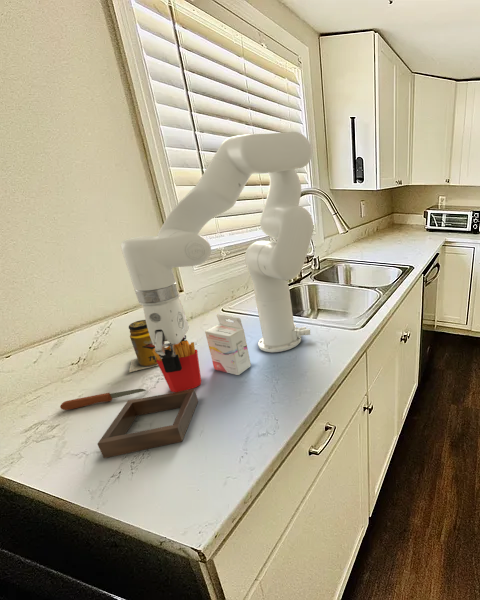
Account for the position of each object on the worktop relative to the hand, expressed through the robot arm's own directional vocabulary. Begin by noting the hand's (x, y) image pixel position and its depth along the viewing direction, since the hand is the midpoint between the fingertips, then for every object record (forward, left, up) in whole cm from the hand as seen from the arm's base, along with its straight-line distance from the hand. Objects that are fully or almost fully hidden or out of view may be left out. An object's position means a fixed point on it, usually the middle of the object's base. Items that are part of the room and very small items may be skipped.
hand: (178, 362), depth 78 cm
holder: (+2, +14, -7) cm, 16 cm away
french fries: (0, 0, -7) cm, 7 cm away
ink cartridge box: (-10, -5, -7) cm, 13 cm away
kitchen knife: (+16, +1, -7) cm, 18 cm away
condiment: (+13, -16, -7) cm, 22 cm away
